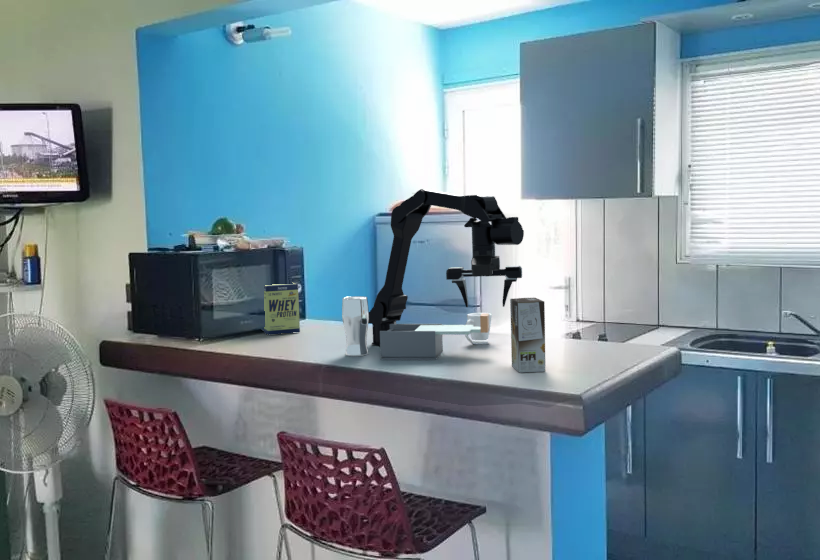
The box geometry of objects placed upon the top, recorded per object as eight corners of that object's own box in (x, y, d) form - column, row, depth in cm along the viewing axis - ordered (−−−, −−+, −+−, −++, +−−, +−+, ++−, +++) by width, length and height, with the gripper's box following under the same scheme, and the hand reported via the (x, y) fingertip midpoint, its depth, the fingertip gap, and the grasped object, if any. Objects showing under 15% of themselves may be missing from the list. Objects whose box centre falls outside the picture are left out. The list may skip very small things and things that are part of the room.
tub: (380, 359, 201) (379, 331, 201) (390, 350, 214) (390, 324, 214) (435, 359, 199) (435, 331, 198) (442, 350, 212) (442, 323, 211)
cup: (497, 342, 223) (497, 313, 222) (476, 347, 216) (476, 317, 215) (477, 340, 228) (476, 312, 227) (455, 345, 220) (455, 316, 219)
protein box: (267, 335, 249) (265, 285, 247) (258, 329, 263) (256, 282, 262) (300, 333, 252) (298, 283, 251) (289, 327, 267) (287, 280, 266)
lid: (413, 334, 200) (413, 318, 200) (420, 328, 211) (420, 312, 211) (486, 334, 197) (486, 317, 197) (490, 327, 208) (489, 311, 208)
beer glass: (374, 352, 212) (372, 296, 211) (364, 357, 206) (362, 299, 205) (349, 351, 215) (347, 296, 213) (339, 356, 208) (337, 299, 207)
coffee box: (546, 371, 180) (545, 301, 179) (518, 373, 180) (517, 302, 178) (536, 364, 189) (535, 296, 188) (510, 365, 189) (508, 298, 188)
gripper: (442, 247, 195) (444, 311, 196) (519, 245, 191) (521, 310, 193) (448, 245, 206) (450, 306, 207) (521, 243, 202) (523, 304, 204)
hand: (485, 306), depth 202 cm, fingers open, 9 cm apart
